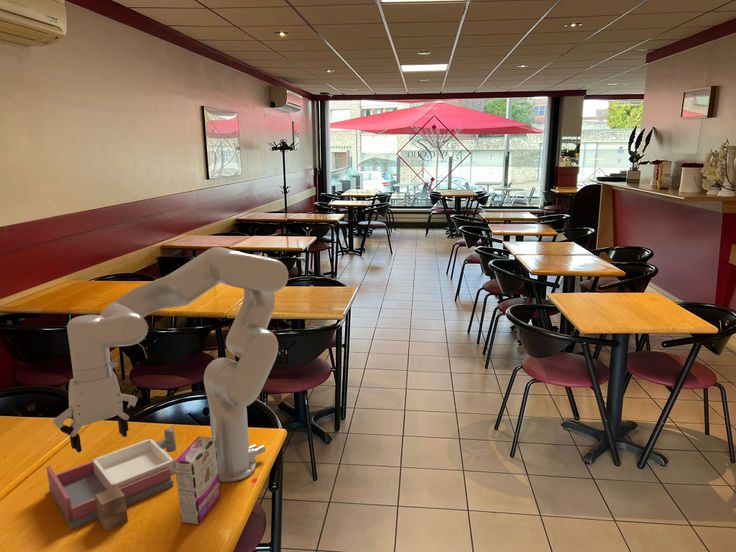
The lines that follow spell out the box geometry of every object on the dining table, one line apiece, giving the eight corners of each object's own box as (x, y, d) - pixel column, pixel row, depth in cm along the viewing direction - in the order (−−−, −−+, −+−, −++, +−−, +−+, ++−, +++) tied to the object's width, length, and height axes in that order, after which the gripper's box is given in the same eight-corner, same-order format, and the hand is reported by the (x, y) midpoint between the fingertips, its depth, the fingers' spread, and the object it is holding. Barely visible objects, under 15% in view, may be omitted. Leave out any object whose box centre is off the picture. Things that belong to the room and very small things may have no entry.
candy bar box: (203, 494, 135) (198, 435, 132) (221, 496, 134) (216, 437, 131) (179, 523, 125) (173, 460, 121) (199, 526, 124) (193, 462, 120)
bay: (143, 455, 153) (140, 431, 152) (173, 485, 139) (170, 459, 137) (49, 491, 137) (45, 465, 136) (71, 529, 123) (67, 501, 121)
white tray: (168, 444, 156) (166, 422, 154) (192, 466, 145) (190, 443, 143) (93, 473, 142) (90, 449, 141) (114, 499, 131) (110, 474, 129)
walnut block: (120, 511, 129) (117, 485, 128) (128, 521, 126) (124, 495, 124) (98, 521, 126) (94, 494, 124) (105, 531, 122) (101, 504, 121)
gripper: (127, 357, 126) (134, 423, 129) (43, 377, 114) (54, 449, 118) (139, 365, 120) (146, 435, 124) (52, 388, 109) (63, 463, 113)
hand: (101, 442), depth 121 cm, fingers open, 9 cm apart
